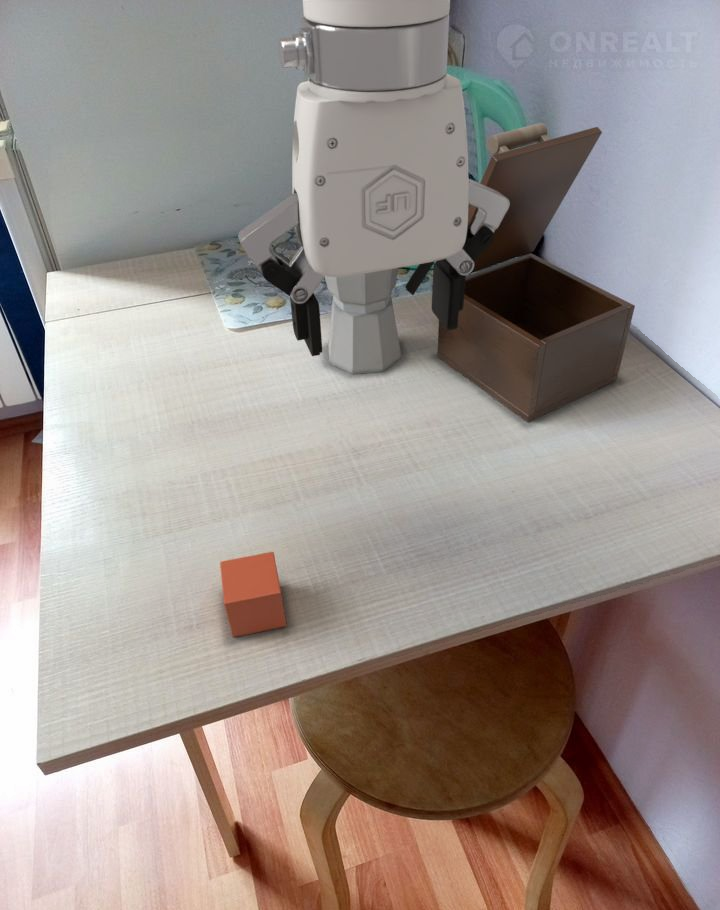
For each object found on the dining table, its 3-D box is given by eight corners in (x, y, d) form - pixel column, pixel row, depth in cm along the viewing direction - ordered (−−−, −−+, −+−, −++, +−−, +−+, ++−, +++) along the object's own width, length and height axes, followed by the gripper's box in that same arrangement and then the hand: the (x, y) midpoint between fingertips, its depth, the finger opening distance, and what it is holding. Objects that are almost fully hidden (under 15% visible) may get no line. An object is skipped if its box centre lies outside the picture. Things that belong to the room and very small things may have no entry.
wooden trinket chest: (617, 380, 74) (635, 305, 69) (527, 422, 69) (539, 346, 64) (521, 322, 84) (530, 252, 78) (437, 356, 79) (440, 284, 73)
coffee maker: (309, 379, 76) (294, 217, 65) (306, 337, 83) (292, 182, 71) (446, 368, 77) (455, 206, 65) (432, 327, 84) (438, 173, 72)
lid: (602, 131, 64) (572, 99, 66) (497, 161, 59) (467, 125, 61) (533, 251, 78) (509, 222, 79) (442, 283, 73) (418, 251, 74)
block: (279, 585, 55) (273, 550, 53) (286, 626, 52) (280, 592, 50) (228, 595, 55) (219, 561, 52) (232, 637, 52) (224, 604, 49)
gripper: (226, 89, 33) (267, 386, 44) (557, 54, 37) (517, 337, 48) (205, 55, 39) (246, 328, 50) (494, 27, 42) (472, 287, 53)
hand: (379, 332), depth 49 cm, fingers open, 9 cm apart
